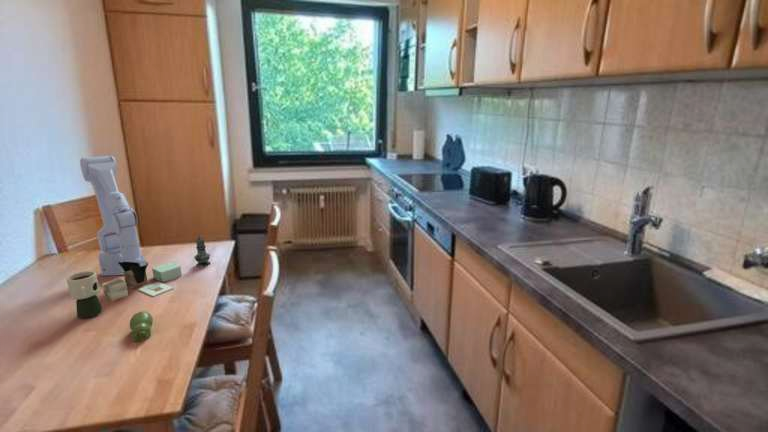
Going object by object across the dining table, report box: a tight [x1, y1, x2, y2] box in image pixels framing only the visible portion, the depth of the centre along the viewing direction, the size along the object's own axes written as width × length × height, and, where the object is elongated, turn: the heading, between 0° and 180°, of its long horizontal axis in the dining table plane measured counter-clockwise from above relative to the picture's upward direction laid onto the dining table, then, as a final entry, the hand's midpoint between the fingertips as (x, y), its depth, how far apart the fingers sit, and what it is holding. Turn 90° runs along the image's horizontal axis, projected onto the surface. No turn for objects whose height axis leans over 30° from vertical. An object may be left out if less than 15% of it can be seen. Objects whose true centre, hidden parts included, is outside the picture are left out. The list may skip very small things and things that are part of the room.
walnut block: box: [123, 270, 149, 289], centre depth 142 cm, size 5×5×5 cm
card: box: [138, 281, 174, 298], centre depth 138 cm, size 9×7×1 cm
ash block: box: [101, 278, 129, 302], centre depth 133 cm, size 5×5×5 cm
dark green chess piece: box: [193, 235, 211, 268], centre depth 158 cm, size 6×6×12 cm
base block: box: [151, 261, 183, 283], centre depth 148 cm, size 7×7×4 cm
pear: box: [129, 311, 154, 342], centre depth 111 cm, size 6×5×10 cm
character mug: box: [66, 270, 103, 318], centre depth 120 cm, size 11×7×13 cm, turn 34°
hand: (136, 280), depth 142 cm, fingers closed on walnut block, 5 cm apart
